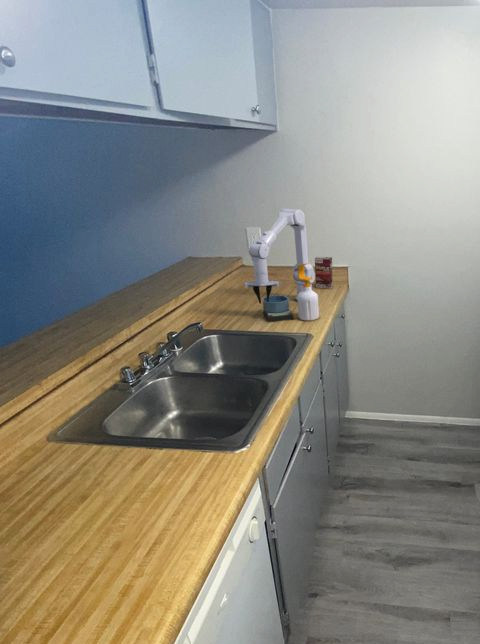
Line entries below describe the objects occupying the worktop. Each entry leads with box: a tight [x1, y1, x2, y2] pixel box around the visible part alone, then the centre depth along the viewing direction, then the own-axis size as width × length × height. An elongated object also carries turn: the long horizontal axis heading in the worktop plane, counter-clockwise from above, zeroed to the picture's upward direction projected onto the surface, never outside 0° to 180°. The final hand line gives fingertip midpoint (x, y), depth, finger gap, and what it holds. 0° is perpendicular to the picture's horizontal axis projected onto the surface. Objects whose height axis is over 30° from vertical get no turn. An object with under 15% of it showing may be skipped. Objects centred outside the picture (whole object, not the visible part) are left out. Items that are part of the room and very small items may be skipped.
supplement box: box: [314, 256, 334, 290], centre depth 253 cm, size 9×5×16 cm, turn 81°
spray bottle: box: [296, 261, 320, 322], centre depth 207 cm, size 9×9×25 cm
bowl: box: [262, 294, 290, 313], centre depth 213 cm, size 11×11×5 cm
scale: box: [262, 308, 294, 323], centre depth 214 cm, size 13×11×3 cm
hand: (264, 302), depth 212 cm, fingers open, 3 cm apart
